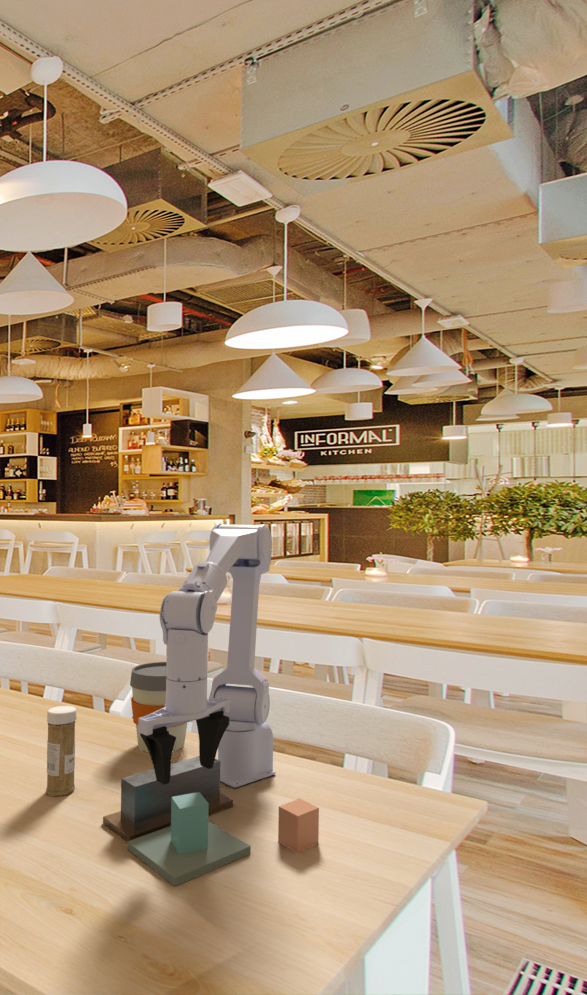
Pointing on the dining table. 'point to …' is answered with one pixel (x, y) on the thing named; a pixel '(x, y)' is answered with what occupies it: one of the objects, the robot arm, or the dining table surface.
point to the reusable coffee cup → (152, 698)
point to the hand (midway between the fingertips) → (185, 774)
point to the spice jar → (61, 750)
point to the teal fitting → (189, 822)
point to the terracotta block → (298, 825)
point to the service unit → (163, 797)
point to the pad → (188, 865)
